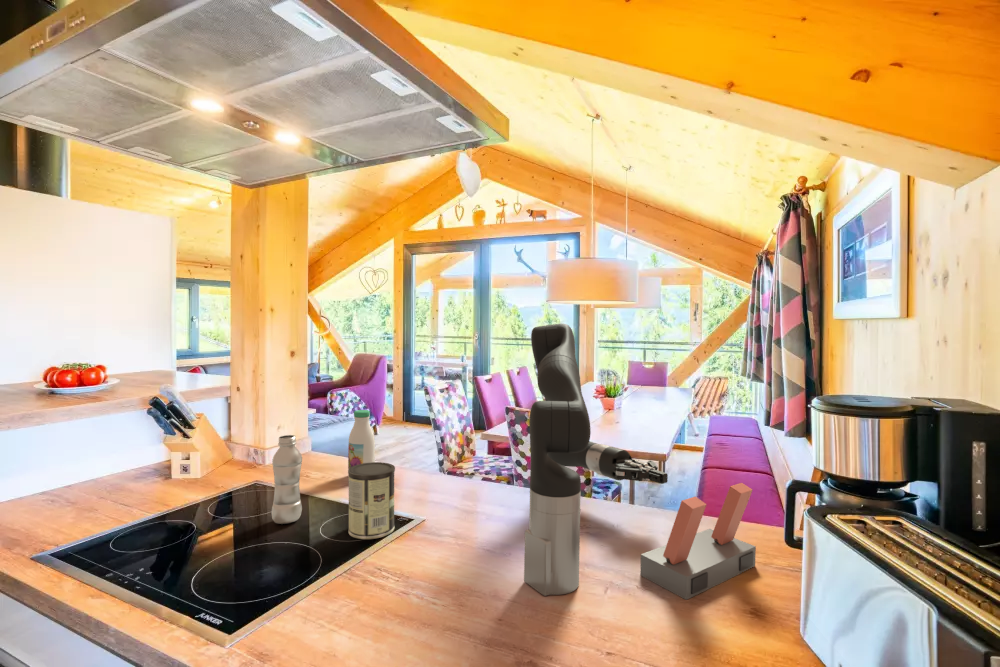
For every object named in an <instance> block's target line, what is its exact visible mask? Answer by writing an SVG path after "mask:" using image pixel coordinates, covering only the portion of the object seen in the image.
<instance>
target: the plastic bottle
mask: <svg viewBox="0 0 1000 667" xmlns="http://www.w3.org/2000/svg"><path fill="white" fill-rule="evenodd" d="M296 438H297V437H296V435H294V434H293V435H292V434H287V435H285V434H284V435H281V436H279V437H278V444H277V445H278V446H279V447H278V449H277V450H276V452H275V453H274V455H273V457H272V461H271V462H272V464H271V465H272V470H273V477H274V493H273V494H274V495H273V503H272V507H271V518H272V519H271V520H273V522H274V523H275V524H277V525H278V524H281V525H283V524H284V525H285V524H291V523H294V522H296V521H298V520H299V519H300V517H301V515H302V510H303V506H302V500H301V493H300V479H301V478H300V477H301V470H302V462H303V457H302V453H301V452H300V450H299V449H298V448H297V447H296V444H297V441H296V440H297V439H296Z"/></svg>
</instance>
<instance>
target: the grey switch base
mask: <svg viewBox="0 0 1000 667" xmlns="http://www.w3.org/2000/svg"><path fill="white" fill-rule="evenodd" d="M713 531H714V529H713V528H708V529H705V530H702V531H700V532H698V533H696V536H695V538H694V541H693V544H692V547H691V550H690V552H689V555H688V558H687V559H686V560H684V561H682V562H679V563H677V564H674V565H673V564H672V563H671V562H670V563H668V562H667V561H666V558H665V557H664V556H663V554H664V551H665V548H666V546H667V544H665V545H662V546H659V547H656V548H654V549H652V550H649V551H646V552H644V553H640V576H642V577H643V578H645V580H649V581H650V582H652V583H654V584H656V585H658V586H660V587H662V588H663V589H665V590H667V591H668V592H671V593H673V594H674V595H676V596H678V597H680V598H682V599H684V600H686V601H687V600H689V599H691V598H693V597H695V596H697V595H699V594H701V593H703V592H706V591H708V590H710V589H712V588H714V587H715V586H718V585H720V584H721V583H724V582H726V581H728V580H730V579H732V578H734V577H736V576H738V575H741V574H743V573H744V571H745V572H747V571H749V570H750V568H751V569H753V568H754V566H755V567H756V552H757V551H756V550H757V548H756V547H757V546H756V545H754V544H751V543H749V542H746V541H743V540H740V539H737V538H735V537H734V539H733V540H732V541H730V542H728V543H725V544H723V545H721V544H719V543H715V542H714V539H713V538H712V537H711V536H712V533H713ZM752 567H753V568H752ZM748 569H749V570H748ZM746 570H747V571H746ZM742 572H743V573H742Z"/></svg>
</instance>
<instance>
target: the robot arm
mask: <svg viewBox="0 0 1000 667" xmlns="http://www.w3.org/2000/svg"><path fill="white" fill-rule="evenodd" d="M573 332H574V331H573V329H572V328H571V327H570V325H568V324H566V323H553V324H547V325H540V326H535V327H533V329H531V333H530V334H531V335H530V340H531V341H530V342H531V349H532V353H533V355H532V356H533V358H534V364H535V366H536V371H537V387H538V389H539V392H540V393H541V395H542V396H543V397H544V400H537V401H534V402H533V404H532V405H531V407H530V412H529V422H528V423H529V444H530V445H529V446H530V449H529V450H530V475H529V525H528V529H525V530H524V550H523V551H524V555H523V556H524V559H523V560H524V563H523V564H524V565H523V568H524V570H523V581H524V582H525V583H526V584H527V585H529V586H530V587H532V588H533V589H534V590H536V591H537V592H538V593H540V594H541V595H542V596H544V597H546V596H549V595H555V596H556V595H557V596H559V595H565V594H566V595H567V594H570V593H573V592H575V590H577V588H579V585H580V550H581V549H580V548H581V547H580V539H581V499H582V498H581V495H582V491H581V490H582V488H581V487H582V485H581V484H582V481H581V476H580V474H579V473H578V472H577V471H575V470H574V469H572V467H573V468H578V467H579V468H580V467H581V468H583V469H585V470H589V471H592V472H593V473H596V474H597V475H601V476H603V477H607V478H610V479H613V480H615V481H623V480H626V481H627V480H629V481H637V482H642V481H643V480H644V481H647V482H648V481H651V482H654V483H658V484H661V485H662V484H667V483H668V473H667V472H664V471H661V470H658V469H659V467H658V465H657V464H656V463H655V462H654V461H653V460H652V459H651V460H647V462H644V461H640V459H637V458H632V455H631V454H630V453H629V452H628V451H627V450H626V449H622V448H619V447H614V446H611V445H607V444H602V443H601V444H600V443H596V442H593V441H590V440H591V421H590V416H589V413H588V408H587V404H586V402H585V399H584V397H583V392H582V387H581V386H582V384H581V376H580V370H579V366H578V363H577V362H578V361H577V358H576V341H575V336H574V333H573Z"/></svg>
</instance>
